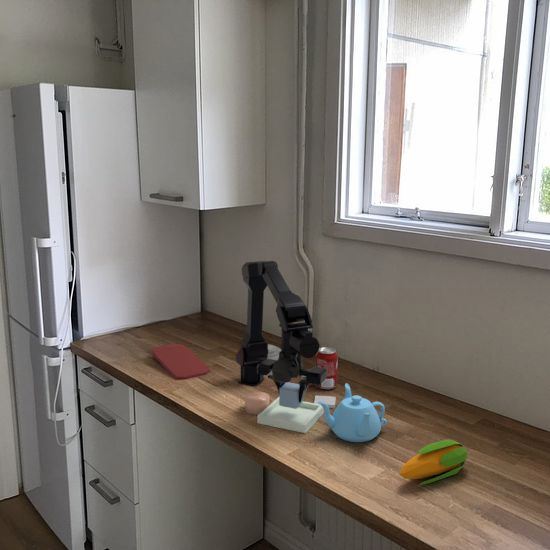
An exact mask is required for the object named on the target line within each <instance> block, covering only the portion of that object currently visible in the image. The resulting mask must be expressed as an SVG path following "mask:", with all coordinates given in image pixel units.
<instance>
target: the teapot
mask: <svg viewBox="0 0 550 550" xmlns="http://www.w3.org/2000/svg"><path fill="white" fill-rule="evenodd" d="M344 388H345V389H344V398H343V399H342V400H341V401H340V402H339V404H338V405H337V407H335V408H334V412H333V413H332V414H331V413H330V412H331V411H330V408H329V407H328V405H327V404H326V403H324V402H318V403H319V404H320V405H322V407H323V409H324V413H323V417H324V420H325V423H326V425H328V426H329V427H330V428H331V430H332V432H333V433H334V434H335V435H336V436H337V437H338V438H339V439H341V440H343V441H345V442H350V443H365V442H369V441H371V440H373V439H375V438H376V437H378V435H379V434H380V432H381V430H382V428H383V427H385V426H386V425H387V419H386V418H383V417H384V416H385V413H386V408H385V405H384V404H383V402H380V401H373V402H371V401H370V400H368V399H366V398H364V397H362V396H360V395H352V391H351V387H350V384H349V383H347V382H346V383H345V384H344ZM376 406H380V413H378V411H377V410H376V408H375V407H376Z"/></svg>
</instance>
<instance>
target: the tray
mask: <svg viewBox="0 0 550 550" xmlns="http://www.w3.org/2000/svg"><path fill="white" fill-rule="evenodd" d="M322 415H324V409H323V407H322V405H320V404H315V403H314V402H309V401H304V400H303V403H302V404H301V405H300V406H299V407H298V408H297V409H294V408H289V407H284V406H279V396H278V397H277V398H276V399H275V400H273V401H272V402H271V403H270V405H269V406H268V407H267V408H266V409H264V410H263V411H262V412H261V413H260V414H259V415H257V424H259V425H264V426H270V427H274V428H279V429H283V430H288V431H293V432H297V433H302V434H307V432H308V431H309V430H310V429H311V428H312V426H314V424H316V422H317V421H318V420H319V419H320V418H321V416H322Z"/></svg>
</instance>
